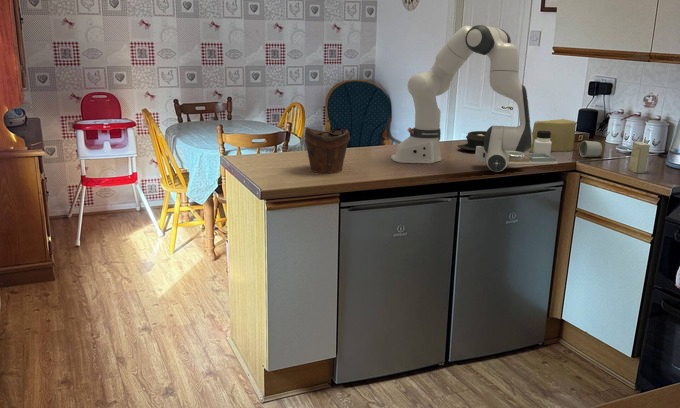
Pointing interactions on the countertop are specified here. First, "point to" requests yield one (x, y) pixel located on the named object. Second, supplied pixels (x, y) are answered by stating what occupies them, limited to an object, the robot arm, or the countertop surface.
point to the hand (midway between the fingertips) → (500, 149)
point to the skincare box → (639, 157)
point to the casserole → (474, 140)
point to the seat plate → (535, 159)
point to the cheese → (557, 133)
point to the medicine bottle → (543, 142)
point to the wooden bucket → (326, 149)
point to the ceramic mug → (590, 149)
